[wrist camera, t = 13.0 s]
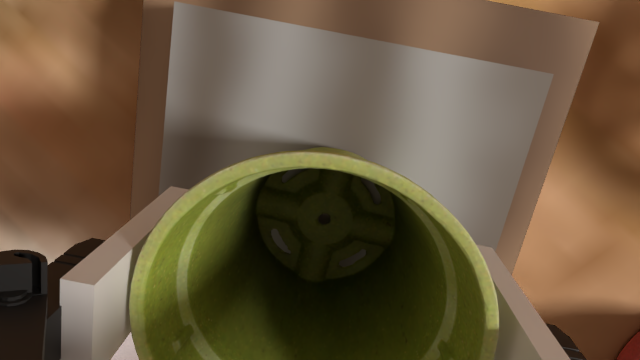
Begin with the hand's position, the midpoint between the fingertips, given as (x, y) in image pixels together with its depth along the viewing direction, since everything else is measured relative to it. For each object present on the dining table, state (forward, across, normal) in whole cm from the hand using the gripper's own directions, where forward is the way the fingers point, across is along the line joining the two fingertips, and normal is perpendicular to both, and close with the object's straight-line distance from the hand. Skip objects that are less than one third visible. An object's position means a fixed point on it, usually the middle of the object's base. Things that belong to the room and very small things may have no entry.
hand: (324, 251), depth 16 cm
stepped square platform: (+10, 0, 0) cm, 10 cm away
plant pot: (+4, 0, 0) cm, 4 cm away
